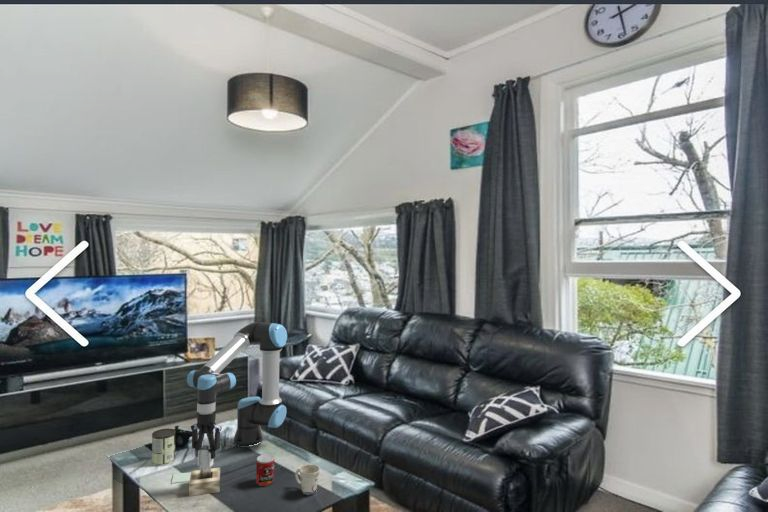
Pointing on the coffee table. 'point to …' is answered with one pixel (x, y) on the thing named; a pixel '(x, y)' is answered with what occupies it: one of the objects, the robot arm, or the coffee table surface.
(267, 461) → the canned food
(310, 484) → the mug
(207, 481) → the housing
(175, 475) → the pad
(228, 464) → the coffee table surface
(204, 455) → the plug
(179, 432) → the controller
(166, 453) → the coffee can
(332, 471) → the coffee table surface
